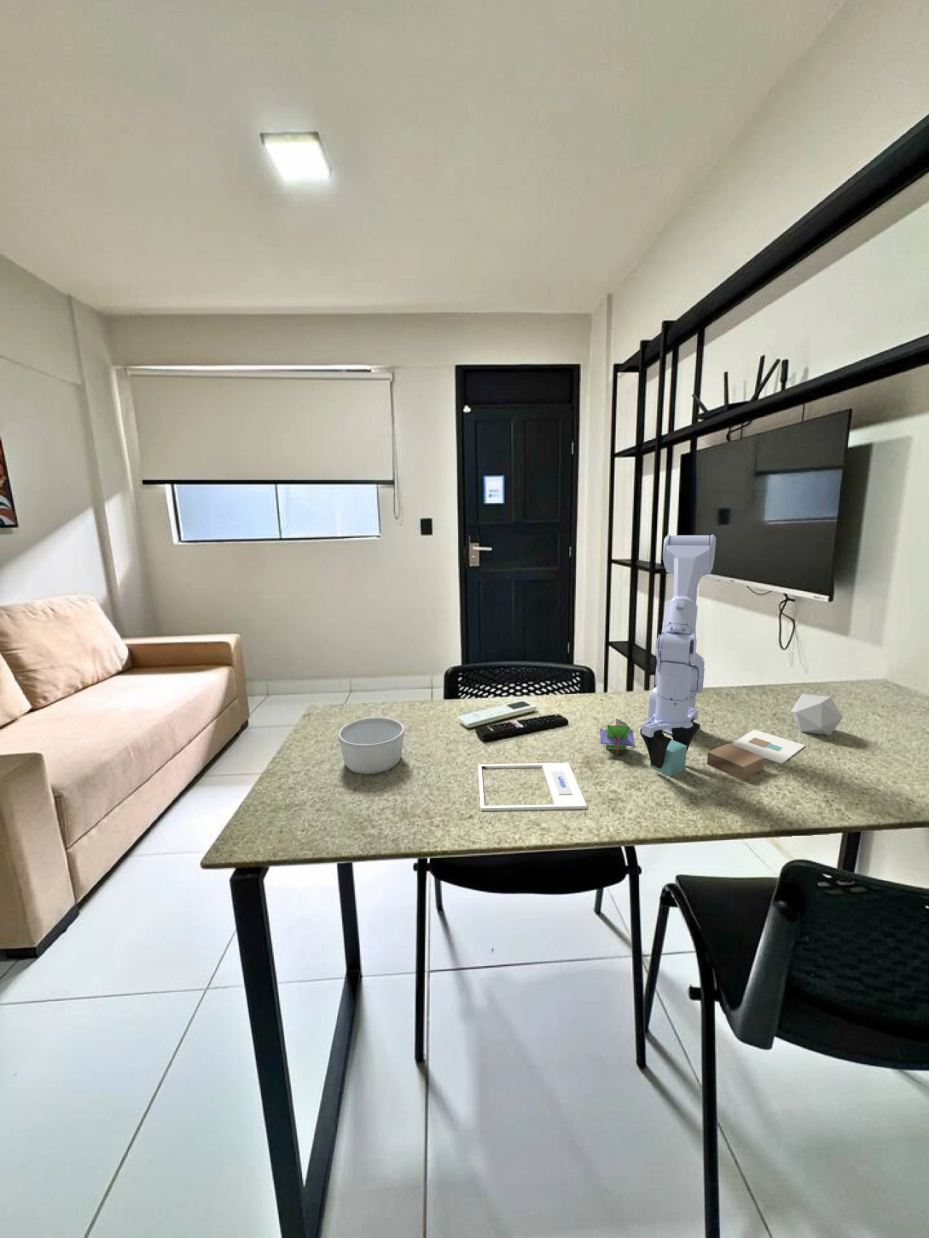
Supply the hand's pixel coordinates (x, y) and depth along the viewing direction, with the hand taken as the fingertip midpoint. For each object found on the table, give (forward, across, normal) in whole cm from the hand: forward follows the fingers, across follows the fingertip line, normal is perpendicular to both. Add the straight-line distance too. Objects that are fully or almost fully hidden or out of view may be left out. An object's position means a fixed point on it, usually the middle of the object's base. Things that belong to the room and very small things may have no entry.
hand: (667, 761), depth 94 cm
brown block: (+2, +11, -7) cm, 13 cm away
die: (+2, +41, -8) cm, 42 cm away
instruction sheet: (+1, +25, -6) cm, 26 cm away
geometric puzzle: (+2, -3, +10) cm, 11 cm away
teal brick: (+2, 0, 0) cm, 2 cm away
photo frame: (+2, -27, +10) cm, 29 cm away
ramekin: (+2, -47, +35) cm, 59 cm away
